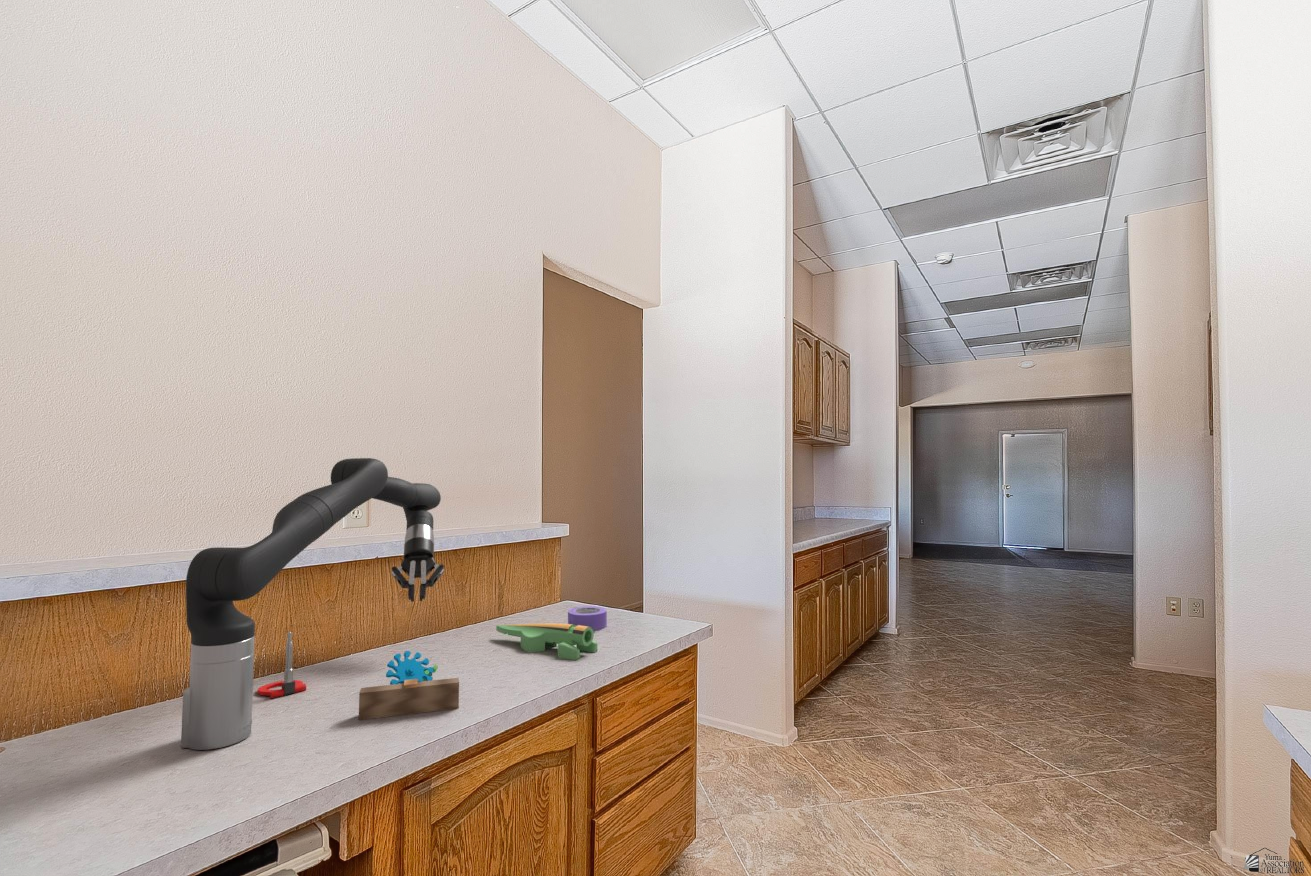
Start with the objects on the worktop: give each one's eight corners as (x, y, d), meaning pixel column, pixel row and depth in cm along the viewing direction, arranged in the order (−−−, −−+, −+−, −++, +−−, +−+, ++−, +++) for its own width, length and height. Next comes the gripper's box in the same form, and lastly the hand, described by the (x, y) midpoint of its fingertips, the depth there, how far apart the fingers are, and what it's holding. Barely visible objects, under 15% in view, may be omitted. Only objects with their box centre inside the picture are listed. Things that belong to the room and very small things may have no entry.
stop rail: (358, 720, 116) (359, 689, 117) (360, 713, 120) (361, 684, 120) (458, 708, 122) (459, 679, 123) (458, 702, 126) (458, 674, 126)
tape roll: (582, 633, 180) (582, 616, 180) (560, 626, 189) (560, 609, 189) (614, 627, 188) (614, 610, 188) (591, 620, 196) (592, 604, 197)
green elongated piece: (482, 643, 170) (482, 616, 170) (509, 635, 179) (510, 609, 179) (575, 661, 154) (575, 631, 154) (600, 650, 163) (600, 622, 163)
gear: (390, 692, 126) (385, 649, 133) (380, 708, 129) (375, 665, 135) (443, 688, 133) (435, 647, 140) (432, 703, 136) (425, 662, 142)
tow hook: (251, 692, 132) (267, 700, 127) (253, 631, 134) (268, 636, 128) (294, 682, 139) (311, 690, 133) (295, 624, 140) (312, 628, 134)
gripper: (391, 536, 163) (386, 592, 150) (446, 535, 167) (445, 589, 155) (392, 554, 167) (387, 610, 155) (445, 552, 172) (445, 606, 160)
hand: (416, 599), depth 155 cm, fingers closed
